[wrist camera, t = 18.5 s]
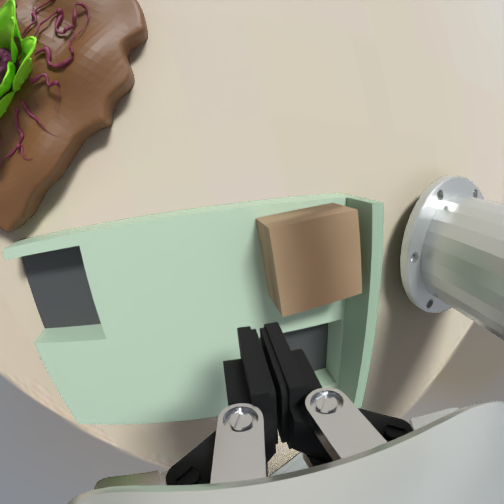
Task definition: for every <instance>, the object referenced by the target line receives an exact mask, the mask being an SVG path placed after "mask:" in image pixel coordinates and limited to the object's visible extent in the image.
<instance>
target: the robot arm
mask: <svg viewBox="0 0 504 504" xmlns="http://www.w3.org/2000/svg"><path fill="white" fill-rule="evenodd" d="M400 268H401V278H402V283H403V287H404V289H405V292H406V295H407V296H408V297H409V299H410V300H411V302H412V303H414V304H415V305H416V306H417V307H419V308H420V309H422V310H423V311H425V312H430V313H438V312H443V311H445V310H447V309H450V308H451V307H452V308H454V309H456V310H457V311H459V312H460V313H462V314H463V315H465V316H467V317H468V318H470V319H471V320H473V321H474V322H476V323H478V324H479V325H481V326H482V327H484V328H485V329H487V330H488V331H490V332H491V333H493V334H494V335H496V336H497V337H499V338H500V339H502V340H503V341H504V204H501V203H497V202H493V201H489V200H484V198H483V195H482V193H481V192H480V190H479V188H478V187H477V186H476V185H475V184H474V183H473V182H472V181H470V180H469V179H467V178H464V177H459V176H446V177H442V178H440V179H438V180H436V181H435V182H433V183H432V184H431V185H430V186H429V187H428V188H427V189H426V190H425V191H424V192H423V194H422V195H421V197H420V198H419V199H418V201H417V202H416V204H415V206H414V208H413V211H412V213H411V215H410V217H409V220H408V223H407V226H406V229H405V232H404V237H403V242H402V247H401V257H400ZM237 333H238V341H239V349H240V357H241V359H234V360H226V361H223V366H224V375H225V384H226V392H227V400H228V407H226V408H225V409H223V410H222V412H221V413H220V414H219V417H218V421H217V429H216V431H215V432H214V433H212V434H211V435H210V436H209V437H208V438H207V439H205V440H204V441H203V442H202V443H201V444H199V445H198V446H197V447H196V448H195V449H193V450H192V451H191V452H190V453H189V454H187V455H186V456H185V457H184V458H182V459H181V460H180V461H179V462H177V463H176V464H175V465H173V466H172V467H171V468H170V469H169V471H167V472H162V473H160V472H159V471H152V472H146V473H140V474H133V475H124V476H115V477H107V478H104V479H102V480H100V481H98V482H97V484H96V485H95V487H94V490H92V491H88V492H85V493H82V494H80V495H77V496H75V497H74V498H72V499H71V500H70V501H69V502H68V504H504V402H503V401H485V402H480V403H476V404H472V405H469V406H466V407H463V408H456V407H455V408H449V409H445V410H441V411H438V412H434V413H430V414H427V415H422V416H418V417H414V418H411V419H410V420H409V421H408V422H406V421H404V420H402V419H399V418H394V417H390V416H386V415H382V414H378V413H374V412H370V411H367V410H363V409H359V408H357V407H356V406H355V405H354V404H353V403H352V401H351V400H350V399H349V398H348V397H347V396H346V395H345V394H344V393H343V392H342V391H340V390H338V389H335V388H330V387H327V388H322V386H321V384H320V382H319V380H318V378H317V376H316V374H315V372H314V370H313V368H312V366H311V365H310V363H309V361H308V359H307V357H306V355H305V353H304V351H303V350H302V349H297V350H291V349H290V347H289V345H288V343H287V341H286V339H285V336H284V334H283V332H282V330H281V328H280V326H279V323H278V322H274V323H267V324H264V328H260V340H259V337H258V334H257V330H256V329H251V327H250V326H247V327H239V328H237ZM260 341H261V343H260ZM277 428H278V431H277ZM278 432H279V435H280V438H281V442H282V443H284V442H287V444H288V447H289V449H291V448H293V449H295V450H297V451H300V452H302V456H303V459H304V461H305V462H306V464H307V466H308V467H309V468H306V469H302V470H298V471H293V472H289V473H284V474H279V475H274V476H268V463H267V462H268V461H269V460H270V459H271V457H272V456H273V455H274V454H275V453H276V445H275V444H278Z"/></svg>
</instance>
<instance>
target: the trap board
mask: <svg viewBox="0 0 504 504" xmlns="http://www.w3.org/2000/svg"><path fill="white" fill-rule="evenodd" d="M328 203H336V204H339V205H343V206H347V207H350V208H354V209H357V210H358V219H359V232H360V249H361V272H362V293H361V294H358V295H355V296H352V297H349V298H346V299H342V300H339V301H336V302H333V303H330V304H326V305H323V306H320V307H317V308H313V309H310V310H306V311H303V312H300V313H296V314H293V315H289V316H285V317H282V315H281V314H280V312H279V311H278V309H277V307H276V306H275V304H274V303H273V301H272V299H271V298H270V296H269V293H268V287H267V281H266V275H265V269H264V264H263V258H262V252H261V246H260V240H259V235H258V229H257V223H256V218H259V217H263V216H268V215H273V214H278V213H283V212H288V211H293V210H298V209H303V208H308V207H313V206H318V205H323V204H328ZM383 224H384V203H383V202H379V201H375V200H370V199H366V198H361V197H356V196H352V195H347V194H342V193H330V194H318V195H306V196H295V197H285V198H275V199H265V200H256V201H247V202H239V203H231V204H223V205H215V206H207V207H200V208H192V209H185V210H179V211H172V212H165V213H159V214H152V215H146V216H140V217H134V218H128V219H122V220H117V221H111V222H105V223H100V224H95V225H89V226H84V227H79V228H74V229H69V230H64V231H59V232H55V233H50V234H45V235H41V236H36V237H32V238H27V239H23V240H19V241H17V242H15V243H13V244H11V245H9V246H8V247H6V248H4V249H2V251H3V255H4V259H5V260H7V259H12V258H17V257H22V260H23V264H24V267H25V271H26V275H27V278H28V281H29V285H30V288H31V291H32V294H33V297H34V300H35V303H36V306H37V309H38V311H39V314H40V317H41V320H42V322H43V325H44V327H45V329H44V331H43V332H42V333H41V335H40V336H39V337H38V339H37V340H36V341H35V343H34V345H35V347H36V349H37V351H38V353H39V355H40V357H41V360H42V362H43V364H44V366H45V368H46V370H47V372H48V373H49V375H50V377H51V379H52V381H53V383H54V385H55V386H56V388H57V390H58V392H59V394H60V395H61V397H62V399H63V400H64V402H65V404H66V405H67V407H68V409H69V410H70V412H71V413H72V415H73V417H74V418H75V420H76V421H77V423H78V424H147V423H163V422H175V421H185V420H194V419H203V418H210V417H217V416H219V414H220V413H221V412H222V410H223V409H225V408H226V407H228V400H227V392H226V384H225V375H224V366H223V361H226V360H234V359H241V357H240V349H239V341H238V333H237V328H239V327H247V326H250V327H251V329H256V330H257V334H258V337H259V340H260V328H264V324H267V323H274V322H278V323H279V326H280V328H281V330H282V332H283V334H284V336H285V339H286V341H287V343H288V345H289V347H290V349H291V350H297V349H302V350H303V351H304V353H305V355H306V357H307V359H308V361H309V363H310V365H311V366H312V368H313V370H314V372H315V374H316V376H317V378H318V380H319V382H320V384H321V386H322V388H327V387H330V388H335V389H338V390H340V391H342V392H343V393H344V394H345V395H346V396H347V397H348V398H349V399H350V400H351V401H352V403H353V404H354V405H355V406H356V407H357V408H361V407H362V403H363V398H364V393H365V389H366V384H367V379H368V373H369V368H370V362H371V356H372V350H373V344H374V337H375V330H376V322H377V314H378V305H379V295H380V284H381V271H382V254H383ZM260 343H261V341H260Z"/></svg>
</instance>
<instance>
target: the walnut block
mask: <svg viewBox="0 0 504 504" xmlns="http://www.w3.org/2000/svg"><path fill="white" fill-rule="evenodd" d="M256 223H257V229H258V235H259V240H260V246H261V252H262V258H263V264H264V269H265V275H266V281H267V287H268V293H269V296H270V298H271V299H272V301H273V303H274V304H275V306H276V307H277V309H278V311H279V312H280V314H281V315H282V317H285V316H289V315H293V314H296V313H300V312H303V311H306V310H310V309H313V308H317V307H320V306H323V305H326V304H330V303H333V302H336V301H339V300H342V299H346V298H349V297H352V296H355V295H358V294H361V293H362V272H361V249H360V232H359V219H358V210H357V209H354V208H350V207H347V206H343V205H339V204H336V203H328V204H323V205H318V206H313V207H308V208H303V209H298V210H293V211H288V212H283V213H278V214H273V215H268V216H263V217H259V218H256Z"/></svg>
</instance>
